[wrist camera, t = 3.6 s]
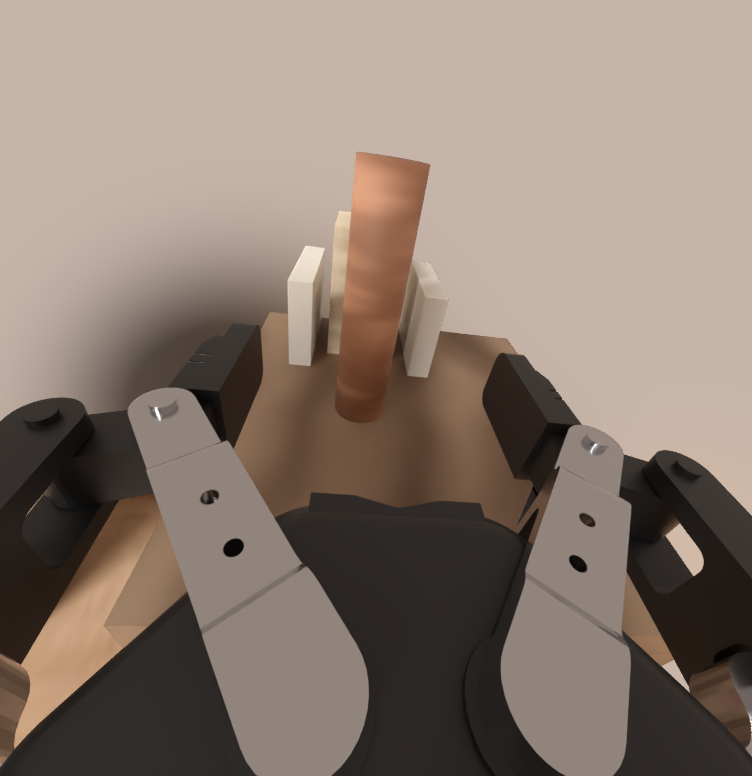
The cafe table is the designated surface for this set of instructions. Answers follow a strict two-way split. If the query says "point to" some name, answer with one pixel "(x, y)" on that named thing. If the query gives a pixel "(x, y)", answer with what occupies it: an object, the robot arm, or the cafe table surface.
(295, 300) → the upright cream panels
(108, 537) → the cafe table surface
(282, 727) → the robot arm
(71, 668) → the cafe table surface
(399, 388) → the open wooden cabinet
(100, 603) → the cafe table surface
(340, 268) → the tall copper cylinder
